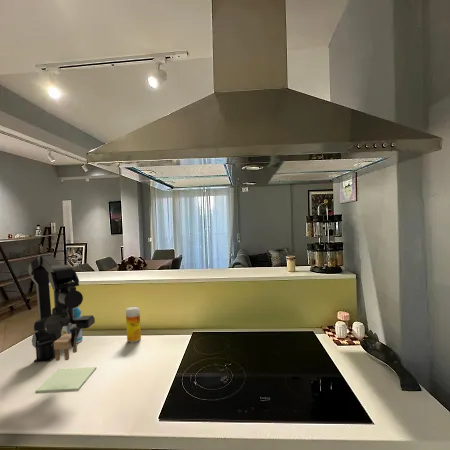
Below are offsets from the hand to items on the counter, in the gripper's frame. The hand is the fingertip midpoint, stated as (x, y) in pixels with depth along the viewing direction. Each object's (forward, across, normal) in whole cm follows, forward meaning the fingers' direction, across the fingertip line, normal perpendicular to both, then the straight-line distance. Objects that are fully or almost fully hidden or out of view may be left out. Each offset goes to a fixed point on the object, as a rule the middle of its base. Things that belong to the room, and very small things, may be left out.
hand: (66, 346), depth 104 cm
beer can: (+12, +14, +32) cm, 37 cm away
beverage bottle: (+12, -15, +34) cm, 39 cm away
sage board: (+12, 0, 0) cm, 12 cm away
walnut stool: (+3, 0, 0) cm, 3 cm away
